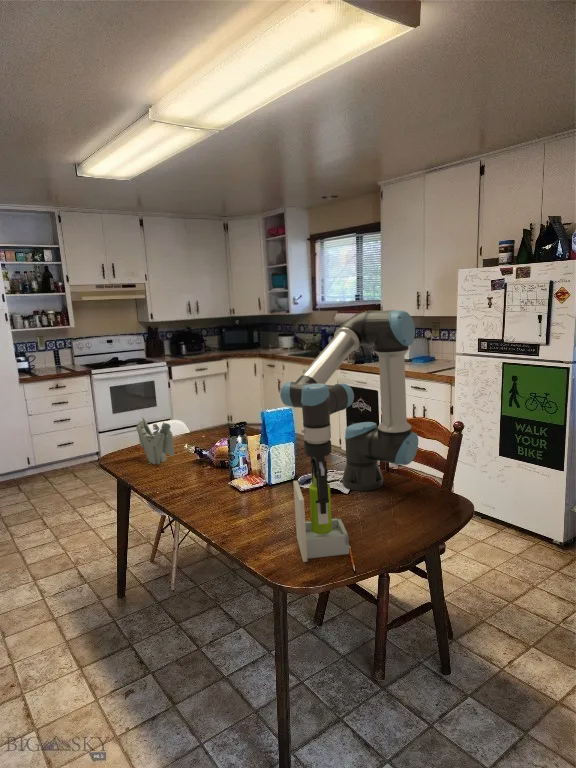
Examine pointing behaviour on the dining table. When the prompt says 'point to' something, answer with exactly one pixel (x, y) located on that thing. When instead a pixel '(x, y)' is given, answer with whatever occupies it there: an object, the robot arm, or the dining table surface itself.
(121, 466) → the dining table surface
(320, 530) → the soap dispenser
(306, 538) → the cup bracket
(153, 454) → the grey pronged sculpture
